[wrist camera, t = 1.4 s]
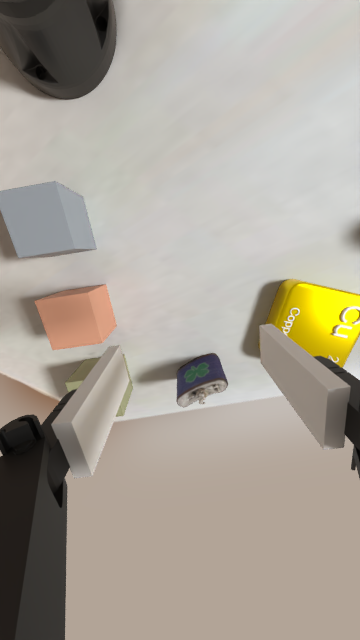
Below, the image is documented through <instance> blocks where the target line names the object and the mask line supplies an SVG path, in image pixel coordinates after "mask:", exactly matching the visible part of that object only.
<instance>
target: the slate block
mask: <svg viewBox="0 0 360 640" xmlns="http://www.w3.org/2000/svg"><path fill="white" fill-rule="evenodd" d="M0 210H1V213H2V216H3V218H4V221H5V224H6V226H7V229H8V232H9V234H10V237H11V240H12V242H13V245H14V248H15V250H16V253H17V256H18V258H31V257H52V256H58V255H64V254H70V253H76V252H82V251H89V250H95V249H97V248H96V244H95V240H94V237H93V233H92V229H91V225H90V221H89V217H88V214H87V210H86V206H85V202H84V198H83V196H81V195H79V194H78V193H76V192H74V191H72V190H70V189H69V188H67V187H65V186H63V185H61V184H60V183H58V182H56V181H53V182H47V183H42V184H36V185H31V186H25V187H20V188H14V189H9V190H3V191H0Z"/></svg>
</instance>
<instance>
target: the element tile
mask: <svg viewBox="0 0 360 640" xmlns="http://www.w3.org/2000/svg"><path fill="white" fill-rule="evenodd" d="M266 324H272V325H274V326H275V327H276V328H277V329H279V330H280V331H281V332H283V333H284V334H285V335H286V336H288V337H289V338H290V339H291V340H293V341H294V342H295V343H296V344H298V345H299V346H300V347H301V348H303V349H304V350H305V351H306V352H308V353H309V354H310V355H311V356H313V357H314V356H322V357H325V358H327V359H330V360H332V361H333V362H335V363H336V364H337V365H339V366H340V367H343V366H344V364H345V362H346V360H347V358H348V356H349V354H350V352H351V350H352V349H353V347H354V345H355V343H356V341H357V339H358V337H359V335H360V294H356V293H352V292H347V291H343V290H339V289H334V288H330V287H326V286H321V285H317V284H313V283H308V282H304V281H300V280H295V279H288V280H286V281H284V282H283V283H282V284H281V285H280V286H279V288H278V291H277V294H276V296H275V299H274V302H273V305H272V307H271V310H270V313H269V315H268V318H267V321H266ZM258 345H259V349H260V340H259V344H258Z"/></svg>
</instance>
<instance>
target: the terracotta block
mask: <svg viewBox="0 0 360 640" xmlns="http://www.w3.org/2000/svg"><path fill="white" fill-rule="evenodd" d="M35 304H36V306H37V309H38V312H39V315H40V317H41V320H42V323H43V325H44V328H45V331H46V333H47V336H48V339H49V341H50V344H51V347H52V349H53V350H58V349H65V348H72V347H79V346H86V345H93V344H100V343H103V342H104V341H105V339H106V338H107V337H108V336H109V335H110V333H111V332H112V331H113V330H114V329H115V327H116V326H117V325H116V321H115V317H114V313H113V309H112V306H111V302H110V298H109V294H108V290H107V286H106V284H105V285H98V286H92V287H86V288H79V289H73V290H66V291H62V292H59V293H56V294H53V295H50V296H47V297H44V298H41V299H38V300H35Z"/></svg>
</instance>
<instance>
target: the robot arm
mask: <svg viewBox="0 0 360 640" xmlns="http://www.w3.org/2000/svg"><path fill="white" fill-rule="evenodd" d="M115 45H116V17H115V11H114V6H113V2H112V0H0V46H1V48H2V49H3V51H4V53H5V54H6V55H7V57H8V58H9V60H10V61H11V62H12V63H13V64H14V66H15V67H16V68H17V69H18V70H19V71H20V72H21V73H22V75H23V76H24V77H25V78H26V79H27V80H28V81H29V82H30V83H31V84H32V85H34V86H35V87H36V88H38V89H39V90H41V91H42V92H44V93H46V94H48V95H51V96H54V97H57V98H65V99H70V98H77V97H80V96H83V95H85V94H87V93H89V92H90V91H92V90H93V89H94V88H95V87H97V86H98V85H99V83H100V82H101V81H102V80H103V78H104V77H105V75H106V73H107V71H108V70H109V67H110V65H111V62H112V59H113V56H114V51H115ZM259 330H260V355H261V364H262V365H263V367H264V368H265V370H266V371H267V372H268V374H269V375H270V376H271V378H272V379H273V381H274V382H275V383H276V385H277V386H278V388H279V389H280V390H281V392H282V393H283V394H284V396H285V397H286V399H287V400H288V401H289V402H290V404H291V405H292V407H293V408H294V410H295V411H296V412H297V414H298V415H299V416H300V418H301V419H302V420H303V422H304V423H305V425H306V426H307V428H308V429H309V430H310V432H311V433H312V435H313V436H314V437H315V439H316V440H317V441H318V443H319V444H320V446H321V447H322V448H323V450H326V449H335V448H343V447H344V442H345V435H346V436H347V437H348V438H349V440H350V441H351V442H352V443H353V444H354V449H353V456H352V464H351V469H352V470H355V467H356V466H357V470H358V474H359V478H360V380H358V379H357V378H356V377H354V376H353V375H351V374H350V373H349V372H348V373H347V371H346V370H344V369H343V368H342V367H340V366H339V365H337V364H336V363H335V362H333V361H332V360H330V359H327V358H325V357H322V356H314V357H313V356H311V355H310V354H309V353H308V352H306V351H305V350H304V349H303V348H301V347H300V346H299V345H298V344H296V343H295V342H294V341H293V340H291V339H290V338H289V337H288V336H286V335H285V334H284V333H283V332H281V331H280V330H279V329H277V328H276V327H275V326H274V325H272V324H265V325H259ZM128 383H129V377H128V373H127V370H126V366H125V362H124V358H123V354H122V351H121V347H120V345H118V346H111V347H108V349H107V350H106V351H105V353H104V354H103V355H102V357H101V358H100V359H99V361H98V362H97V363H96V365H95V366H94V367H93V369H92V370H91V372H90V373H89V374H88V376H87V377H86V378H85V380H84V381H83V382H82V384H81V385H80V386H79V388H78V389H74V390H72V391H70V392H69V393H68V394H67V395H65V396H64V397H63V398H62V400H61V401H60V402H59V404H58V405H57V406H56V407H55V408H54V410H53V412H51V413H50V415H49V416H48V417H47V419H46V420H45V421H44V422H43V424H42V425H40V422H39V420H38V418H37V416H35V415H25V416H22V417H19V418H17V419H15V420H13V421H11V422H9V423H8V424H6V425H5V426H4V427H2V428H1V429H0V450H1V452H2V454H3V456H1V457H0V640H65V597H66V595H65V594H66V534H67V533H66V532H67V484H66V481H65V476H66V473H67V472H68V469H69V468H70V470H71V472H72V475H73V477H74V478H80V477H89V476H93V473H94V470H95V468H96V465H97V463H98V460H99V458H100V455H101V452H102V450H103V447H104V445H105V442H106V440H107V437H108V435H109V432H110V429H111V427H112V424H113V422H114V419H115V417H116V414H117V411H118V409H119V406H120V404H121V401H122V399H123V396H124V393H125V391H126V388H127V386H128Z"/></svg>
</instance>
